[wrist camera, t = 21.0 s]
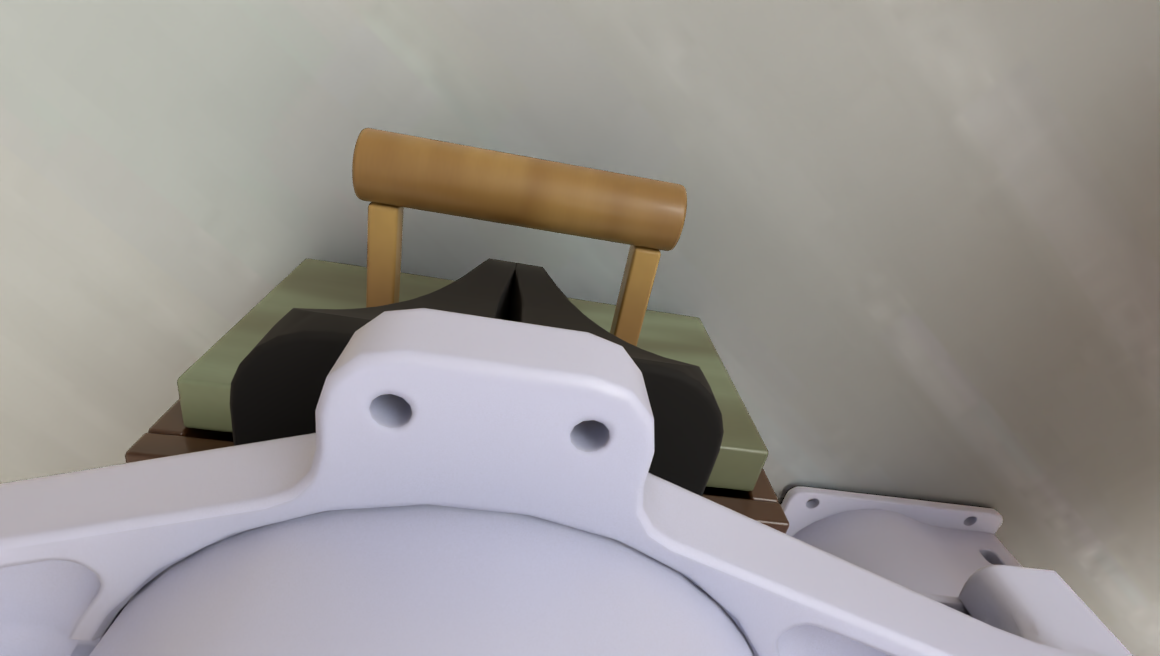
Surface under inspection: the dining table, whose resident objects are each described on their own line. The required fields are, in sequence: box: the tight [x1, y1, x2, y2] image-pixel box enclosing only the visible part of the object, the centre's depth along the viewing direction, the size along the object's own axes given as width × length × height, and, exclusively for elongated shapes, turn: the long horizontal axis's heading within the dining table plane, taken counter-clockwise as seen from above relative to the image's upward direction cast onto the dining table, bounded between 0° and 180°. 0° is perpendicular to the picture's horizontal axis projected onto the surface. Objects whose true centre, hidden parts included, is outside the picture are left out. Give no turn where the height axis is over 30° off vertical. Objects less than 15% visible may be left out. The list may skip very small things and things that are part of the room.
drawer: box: [177, 128, 768, 491], centre depth 17 cm, size 18×12×7 cm, turn 169°
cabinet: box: [125, 399, 789, 534], centre depth 19 cm, size 14×13×8 cm
